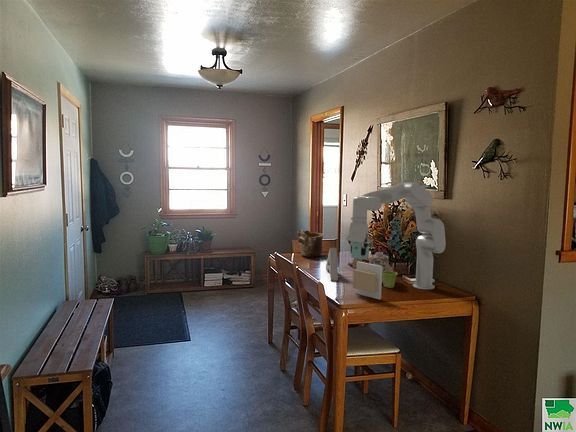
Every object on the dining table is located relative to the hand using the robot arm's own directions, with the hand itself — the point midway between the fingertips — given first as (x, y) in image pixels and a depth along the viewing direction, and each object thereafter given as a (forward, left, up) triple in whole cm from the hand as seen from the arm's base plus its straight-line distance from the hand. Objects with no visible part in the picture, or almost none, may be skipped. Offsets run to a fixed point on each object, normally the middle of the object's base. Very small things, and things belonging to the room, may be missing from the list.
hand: (357, 254), depth 232 cm
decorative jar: (-46, -17, -25) cm, 55 cm away
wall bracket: (-35, -46, -25) cm, 63 cm away
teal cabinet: (-3, 0, -2) cm, 4 cm away
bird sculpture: (-70, -51, -25) cm, 90 cm away
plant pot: (-38, -4, -25) cm, 45 cm away
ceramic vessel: (-73, -99, -25) cm, 125 cm away
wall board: (-9, 0, -25) cm, 26 cm away
